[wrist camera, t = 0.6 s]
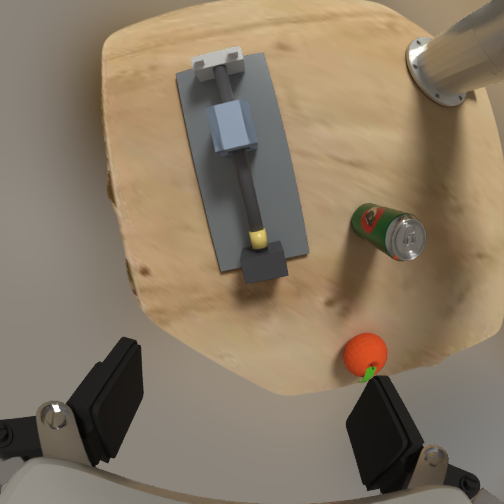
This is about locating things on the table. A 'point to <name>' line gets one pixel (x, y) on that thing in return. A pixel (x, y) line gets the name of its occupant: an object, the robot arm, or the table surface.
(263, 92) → the linear slide rail
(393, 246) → the soda can
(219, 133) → the sleeve
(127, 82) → the table surface
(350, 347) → the clementine
